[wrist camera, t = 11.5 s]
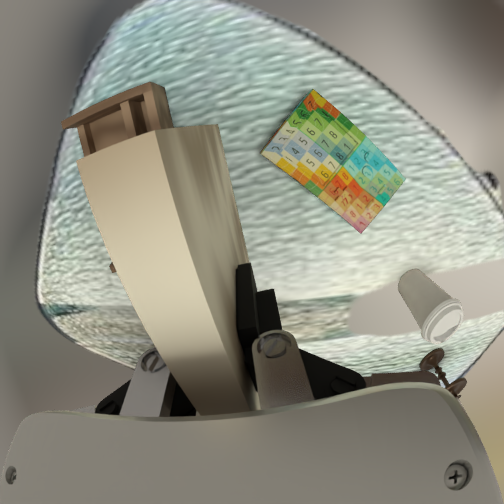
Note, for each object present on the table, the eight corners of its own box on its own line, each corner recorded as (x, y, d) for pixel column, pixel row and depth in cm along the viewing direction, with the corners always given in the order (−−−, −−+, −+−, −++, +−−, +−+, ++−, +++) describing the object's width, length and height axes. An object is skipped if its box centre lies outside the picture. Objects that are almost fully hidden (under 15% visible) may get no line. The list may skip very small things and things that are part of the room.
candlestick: (411, 374, 68) (454, 464, 36) (424, 350, 63) (477, 446, 32) (437, 366, 68) (481, 448, 37) (450, 342, 63) (503, 428, 32)
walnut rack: (202, 234, 44) (196, 255, 38) (126, 252, 44) (112, 272, 38) (164, 87, 33) (150, 81, 27) (84, 119, 34) (61, 121, 27)
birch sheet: (258, 302, 22) (279, 470, 10) (241, 305, 22) (248, 474, 10) (217, 124, 16) (154, 130, 4) (195, 130, 16) (76, 160, 4)
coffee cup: (385, 300, 52) (417, 349, 39) (401, 260, 48) (443, 305, 35) (417, 301, 54) (450, 345, 40) (433, 264, 49) (474, 305, 36)
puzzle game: (363, 236, 41) (261, 154, 34) (352, 224, 45) (258, 150, 39) (408, 180, 37) (314, 88, 30) (394, 173, 41) (306, 91, 35)
